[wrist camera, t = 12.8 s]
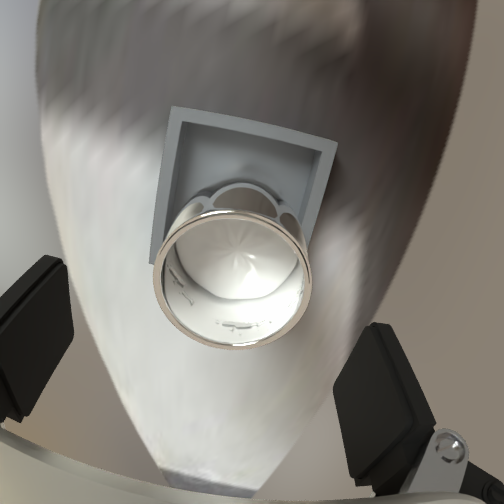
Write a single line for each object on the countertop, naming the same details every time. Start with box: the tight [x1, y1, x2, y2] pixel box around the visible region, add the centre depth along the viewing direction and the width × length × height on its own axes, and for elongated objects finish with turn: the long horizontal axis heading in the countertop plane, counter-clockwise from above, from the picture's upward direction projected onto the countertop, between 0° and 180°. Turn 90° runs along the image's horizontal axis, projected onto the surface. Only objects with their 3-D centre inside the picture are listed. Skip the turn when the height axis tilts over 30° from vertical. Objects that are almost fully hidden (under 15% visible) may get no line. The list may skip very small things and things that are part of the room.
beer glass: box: [153, 161, 312, 350], centre depth 20 cm, size 7×7×15 cm
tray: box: [149, 106, 338, 265], centre depth 26 cm, size 13×12×3 cm
